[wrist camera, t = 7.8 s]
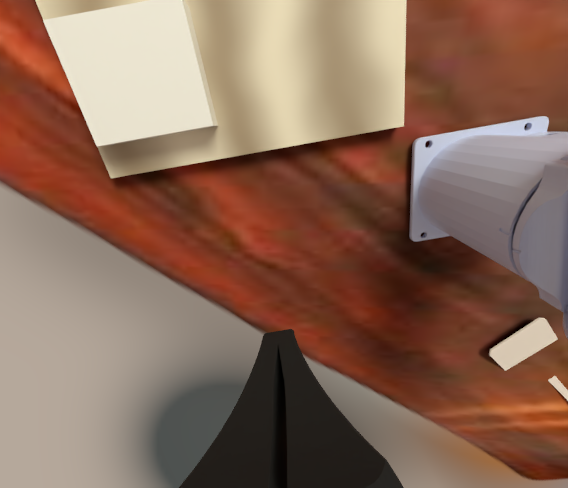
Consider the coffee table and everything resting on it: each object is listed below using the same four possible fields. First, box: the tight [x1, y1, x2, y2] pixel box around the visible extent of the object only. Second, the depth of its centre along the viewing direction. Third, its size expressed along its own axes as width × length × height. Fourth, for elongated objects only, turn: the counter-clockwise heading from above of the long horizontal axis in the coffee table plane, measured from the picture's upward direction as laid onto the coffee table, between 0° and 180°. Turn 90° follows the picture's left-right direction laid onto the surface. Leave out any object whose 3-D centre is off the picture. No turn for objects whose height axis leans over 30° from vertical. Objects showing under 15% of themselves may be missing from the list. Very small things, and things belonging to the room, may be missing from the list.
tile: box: [43, 0, 218, 146], centre depth 15 cm, size 2×6×7 cm
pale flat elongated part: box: [489, 318, 568, 401], centre depth 31 cm, size 6×29×2 cm, turn 47°
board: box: [35, 0, 406, 178], centre depth 15 cm, size 20×14×1 cm
